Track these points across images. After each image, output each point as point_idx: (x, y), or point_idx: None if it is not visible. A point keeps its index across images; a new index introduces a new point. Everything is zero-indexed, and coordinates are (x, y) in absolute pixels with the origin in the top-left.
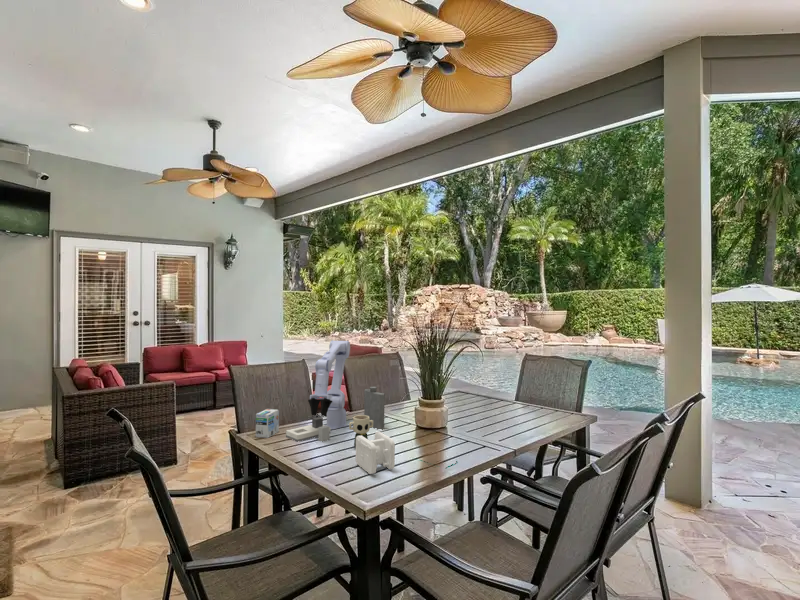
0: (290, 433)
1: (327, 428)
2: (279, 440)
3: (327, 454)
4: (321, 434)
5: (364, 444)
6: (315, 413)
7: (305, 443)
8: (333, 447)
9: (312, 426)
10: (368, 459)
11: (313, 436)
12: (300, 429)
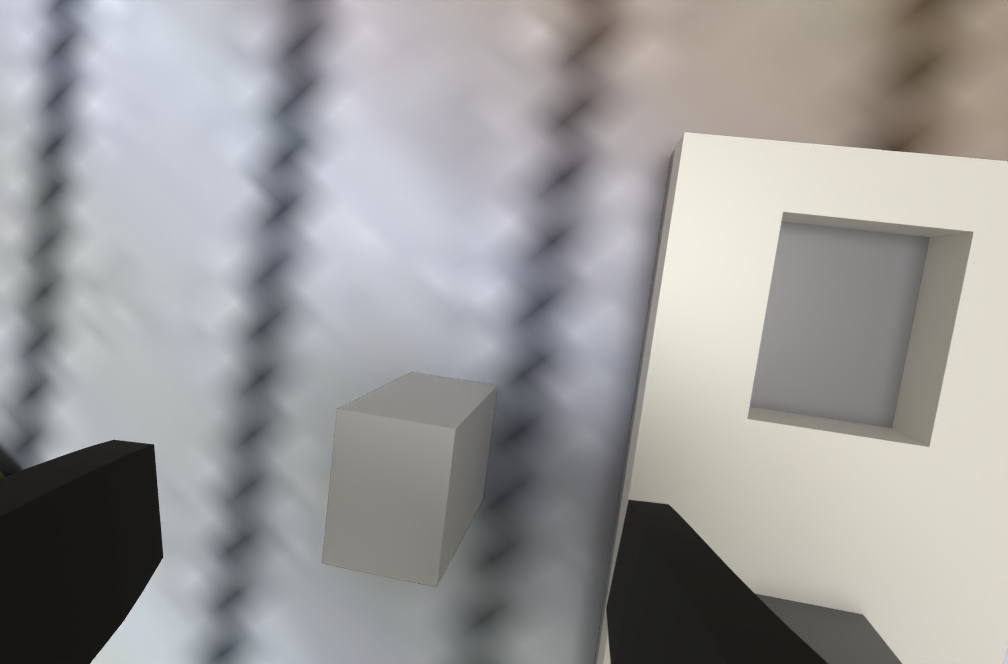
0: (925, 157)
1: (334, 509)
2: (971, 15)
3: (44, 98)
4: (400, 392)
5: None
6: (618, 626)
7: (534, 187)
8: (162, 307)
9: (857, 618)
10: None
11: (632, 422)
12: (934, 398)
